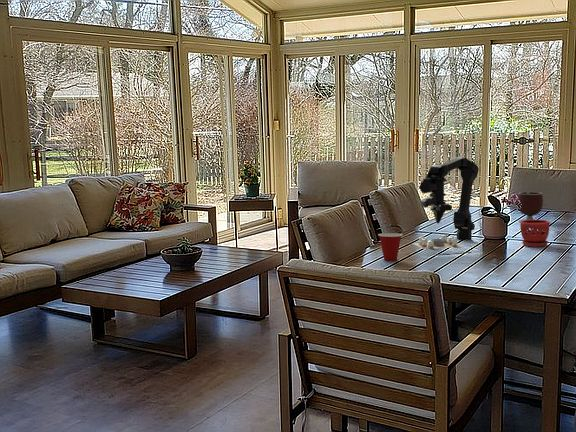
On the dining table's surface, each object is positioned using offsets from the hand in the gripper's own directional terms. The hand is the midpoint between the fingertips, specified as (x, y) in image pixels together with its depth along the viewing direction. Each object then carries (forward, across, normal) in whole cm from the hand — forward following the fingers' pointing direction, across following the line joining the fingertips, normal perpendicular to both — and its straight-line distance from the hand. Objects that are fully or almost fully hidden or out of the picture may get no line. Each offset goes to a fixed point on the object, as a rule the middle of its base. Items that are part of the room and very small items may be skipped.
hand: (437, 223), depth 311 cm
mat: (+12, +12, 0) cm, 17 cm away
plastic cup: (+12, +18, -31) cm, 38 cm away
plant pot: (+12, +11, +45) cm, 48 cm away
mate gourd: (+12, -50, +80) cm, 95 cm away
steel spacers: (+11, 0, 0) cm, 11 cm away
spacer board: (+12, 0, 0) cm, 12 cm away
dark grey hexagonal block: (+11, 0, 0) cm, 11 cm away
